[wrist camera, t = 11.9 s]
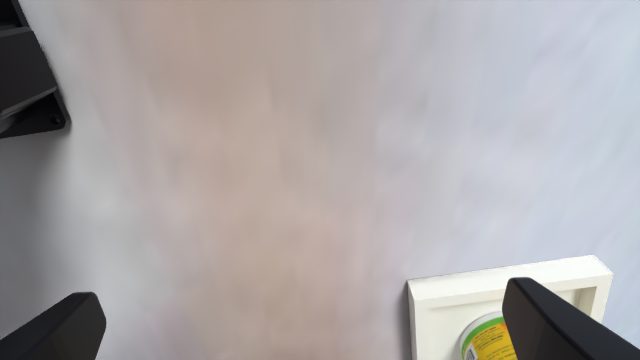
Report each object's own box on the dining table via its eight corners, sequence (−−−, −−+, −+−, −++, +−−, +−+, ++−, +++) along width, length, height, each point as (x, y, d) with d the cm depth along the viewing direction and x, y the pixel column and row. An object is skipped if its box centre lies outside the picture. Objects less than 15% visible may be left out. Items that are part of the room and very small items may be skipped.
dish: (414, 396, 31) (420, 419, 29) (407, 279, 25) (414, 300, 24) (567, 377, 30) (582, 399, 29) (593, 254, 25) (613, 273, 23)
